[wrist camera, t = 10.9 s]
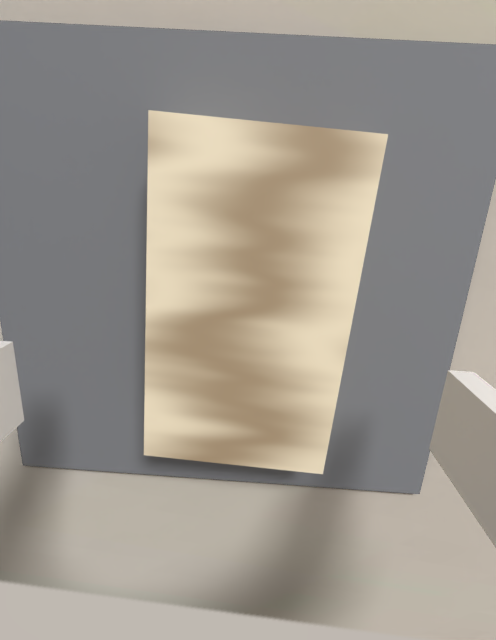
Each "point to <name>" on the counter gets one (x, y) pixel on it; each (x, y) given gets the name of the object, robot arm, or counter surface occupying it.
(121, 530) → the counter surface
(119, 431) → the mat
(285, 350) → the birch block
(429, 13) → the counter surface
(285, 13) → the counter surface
